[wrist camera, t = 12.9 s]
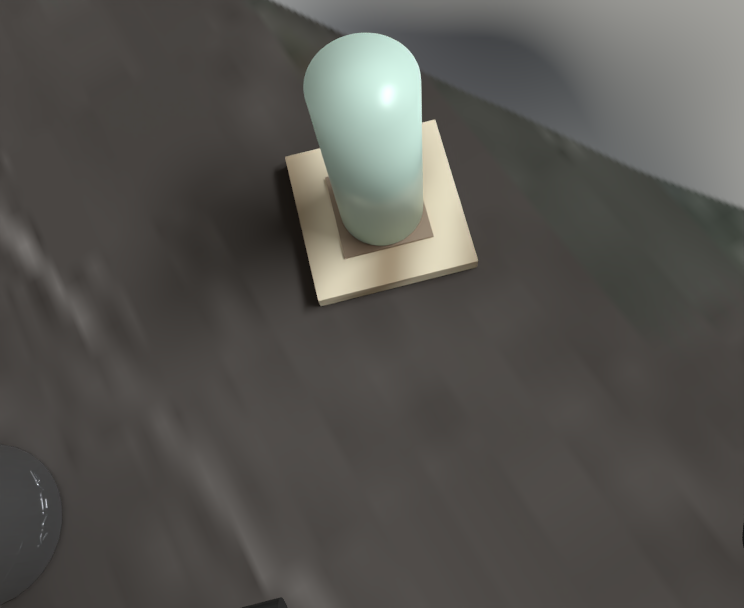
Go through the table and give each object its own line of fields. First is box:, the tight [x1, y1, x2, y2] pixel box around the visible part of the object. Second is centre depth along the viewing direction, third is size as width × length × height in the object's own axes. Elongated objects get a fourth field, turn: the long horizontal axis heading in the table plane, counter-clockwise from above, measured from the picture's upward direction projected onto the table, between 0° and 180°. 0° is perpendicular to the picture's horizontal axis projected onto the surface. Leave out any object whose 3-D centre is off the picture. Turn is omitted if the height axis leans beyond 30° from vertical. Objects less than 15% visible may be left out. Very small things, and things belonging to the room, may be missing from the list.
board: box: [285, 120, 478, 306], centre depth 43 cm, size 10×10×1 cm
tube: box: [303, 33, 423, 246], centre depth 36 cm, size 5×5×13 cm
